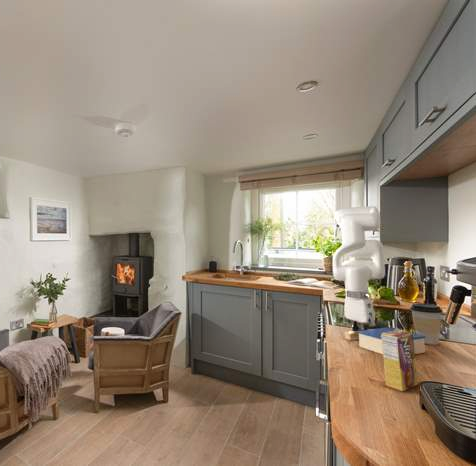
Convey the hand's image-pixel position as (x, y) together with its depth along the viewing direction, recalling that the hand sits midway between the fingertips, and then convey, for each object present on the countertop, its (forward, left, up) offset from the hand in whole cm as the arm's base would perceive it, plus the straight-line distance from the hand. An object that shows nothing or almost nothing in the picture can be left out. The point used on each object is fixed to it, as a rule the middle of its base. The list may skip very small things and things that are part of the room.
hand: (359, 336), depth 126 cm
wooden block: (0, 0, 0) cm, 1 cm away
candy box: (+31, +35, -1) cm, 47 cm away
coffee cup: (-19, +13, -1) cm, 23 cm away
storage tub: (+3, +14, 0) cm, 14 cm away
